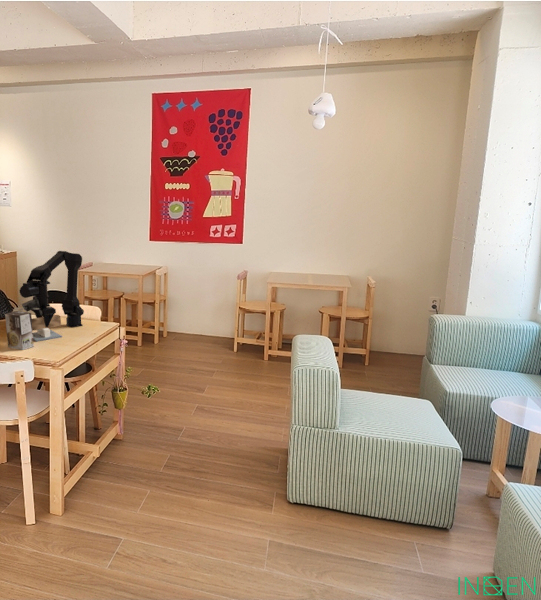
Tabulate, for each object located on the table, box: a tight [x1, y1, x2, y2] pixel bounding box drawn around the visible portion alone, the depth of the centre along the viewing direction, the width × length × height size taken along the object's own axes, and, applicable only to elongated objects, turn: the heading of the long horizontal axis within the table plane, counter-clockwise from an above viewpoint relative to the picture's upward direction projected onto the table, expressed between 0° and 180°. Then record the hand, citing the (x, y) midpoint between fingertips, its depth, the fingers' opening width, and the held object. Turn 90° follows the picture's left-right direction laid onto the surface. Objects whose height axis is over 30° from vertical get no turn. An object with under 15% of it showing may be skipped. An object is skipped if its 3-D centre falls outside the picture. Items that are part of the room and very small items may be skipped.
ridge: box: [33, 328, 63, 343], centre depth 219 cm, size 12×14×4 cm
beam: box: [32, 314, 62, 332], centre depth 218 cm, size 16×4×5 cm, turn 141°
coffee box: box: [4, 311, 35, 351], centre depth 201 cm, size 9×6×16 cm
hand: (43, 324), depth 219 cm, fingers open, 9 cm apart
